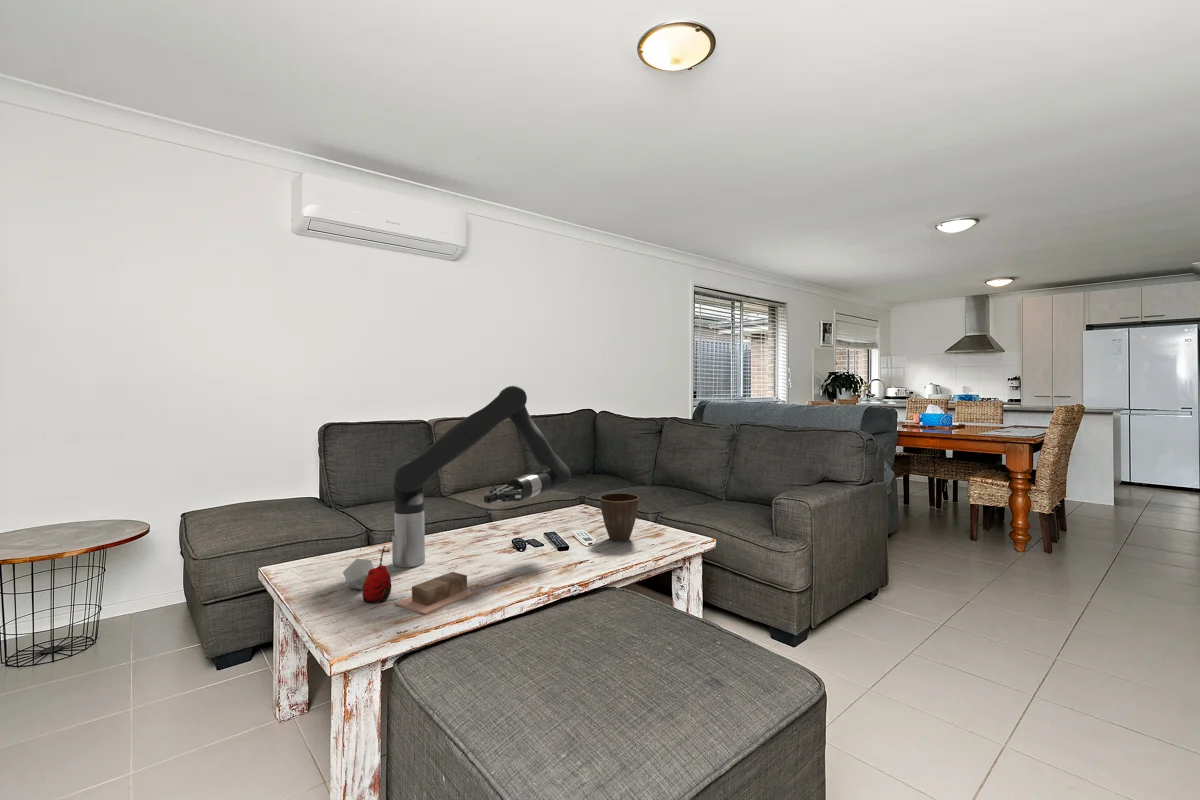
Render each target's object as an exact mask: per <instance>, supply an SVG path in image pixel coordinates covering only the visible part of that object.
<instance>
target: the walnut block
mask: <svg viewBox="0 0 1200 800" xmlns="http://www.w3.org/2000/svg"><path fill="white" fill-rule="evenodd" d="M467 590H468V576H467V575H466V574H463V573H459V572H456V571H450V572H448V573H444V574H442V575H439V576H437V577H434V578H431V579H429V580H426V581H424V582H420V583H418V584H417V583H416V584H415V585H412V586H411V597H412V601H413V602H416V603H419V604H422V605H425V606H429V605H431V604H433V603H436V602H438V601H441V600H443V599H445V598H448V597H450V596H453V595H455V594H457V593H460V592H462V591H467Z"/></svg>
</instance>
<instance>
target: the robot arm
mask: <svg viewBox="0 0 1200 800" xmlns="http://www.w3.org/2000/svg"><path fill="white" fill-rule="evenodd" d="M527 400H528V396H527V393H526V391H525V389H523V388H522V387H520V386H517V385H509V386H507V387H505V388H503V389H502V390H501V391H500V392H499V394H498V395H497V396H496V397H495V398H494V399H493V400H492V401H490V402H489V403H488V404H487V405H486V406H484V407H483V408H481V409H479V410H477V411H476V412H473V413H472V414H470V415H468V416H467V417H465V418H464V419H461V420H460V421H458V422H457V423H456V424H455V425H453V426H452V427H450V428H449V429H448V430H447V431H445V432H444V433H443V434H442V435H441V436H440V437H439V438H438V439H437V440H436V441H435V442H434V443H433V445H431V446H430V448H429V449H428V450H426V451H424V453H422V454H421V455H419V456H418V457H416V458H414V459H412V460H407V461H404V462H401V463H399V464H398V465H397V467H396V468H395V469H394V473H393V494H394V495H393V500H394V501H393V502H394V503H393V505H394V506H393V507H394V535H392V536H391V544H392V545H391V548H392V549H391V551H392V555H391V556H392V558H391V559H392V566H395V567H399V568H412V567H413V568H414V567H418V566H421V565H423V564H424V563H425V562H426V559H425V558H426V550H425V549H426V547H425V546H426V544H425V543H426V541H425V539H426V538H425V536H426V535H425V534H426V533H425V530H426V529H425V496H424V485H425V484H426V483H427V481H428V480H429V479H430V478H431V477H433V476H434V475H435V474H436V473H438V471H439V470H441V469H442V468H443V467H445V466H447V465H448V464H451V462H453V461H455V460H456V459H457V458H459V457H460V456H461V455H463V454H465V453H466V452H467V451H468V450H471V448H473V447H474V446H475V445H476V444H478V443H479V442H480V441H482V439H483V438H485V437H486V436H487V435H488V434H489V433H490V432H491V431H493V430H494V428H495V427H496V426H498V425H499V424H500V423H502V422H503V421H504V420H506V419H508V418H509V419H510V421H511V422H512V423H513V424H514V426H515V427H516V429H517V430H518V432H519V434H520V435H521V438H522V439H523V441H524V442H525V445H526V447H527V448H528V451H529V452H530V454H531V455H532V457H533V459H534V461H535V462H536V464H537V465H539V466H541V467H542V466H545V467H548V468H549V469H546V470H543V471H537V472H534V473H530V474H529V473H528V474H524V475H521V476H518V477H517V476H516V477H515V478H511V479H510V480H509V481H508V483H507V484H505V485H502V486H501V487H499V488H497V487H496V485H492V486H491V488H490V490H489V493H488V494H486V495H484V496H483V502H484V503H486V504H491V503H495V502H500V501H501V502H503V503H505V502H521V501H524V500H527V499H529V498H533V497H535V496H537V495H539V494H541V493H544V492H546V491H549V490H552V489H553V490H554V489H556V488H559V487H561V486H564V485H566V484H568V483H570V481H571V475H572V474H571V471H570V468H569V467H568V465H567V464H566V463H565V462H564V461H563V460H562V459H561V458H560V457H559V456H558V455H557V454H556V453H555V452H554V450H553V449H552V446H551V445H550V443H549V441H548V440H547V438H546V436H545V435H544V433H542V431H541V430H540V429H539V426H537V425H536V423H535V422H534V420H533V418H532V417H531V416H530V414H529V411H528V410H527V407H526V404H527Z"/></svg>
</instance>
